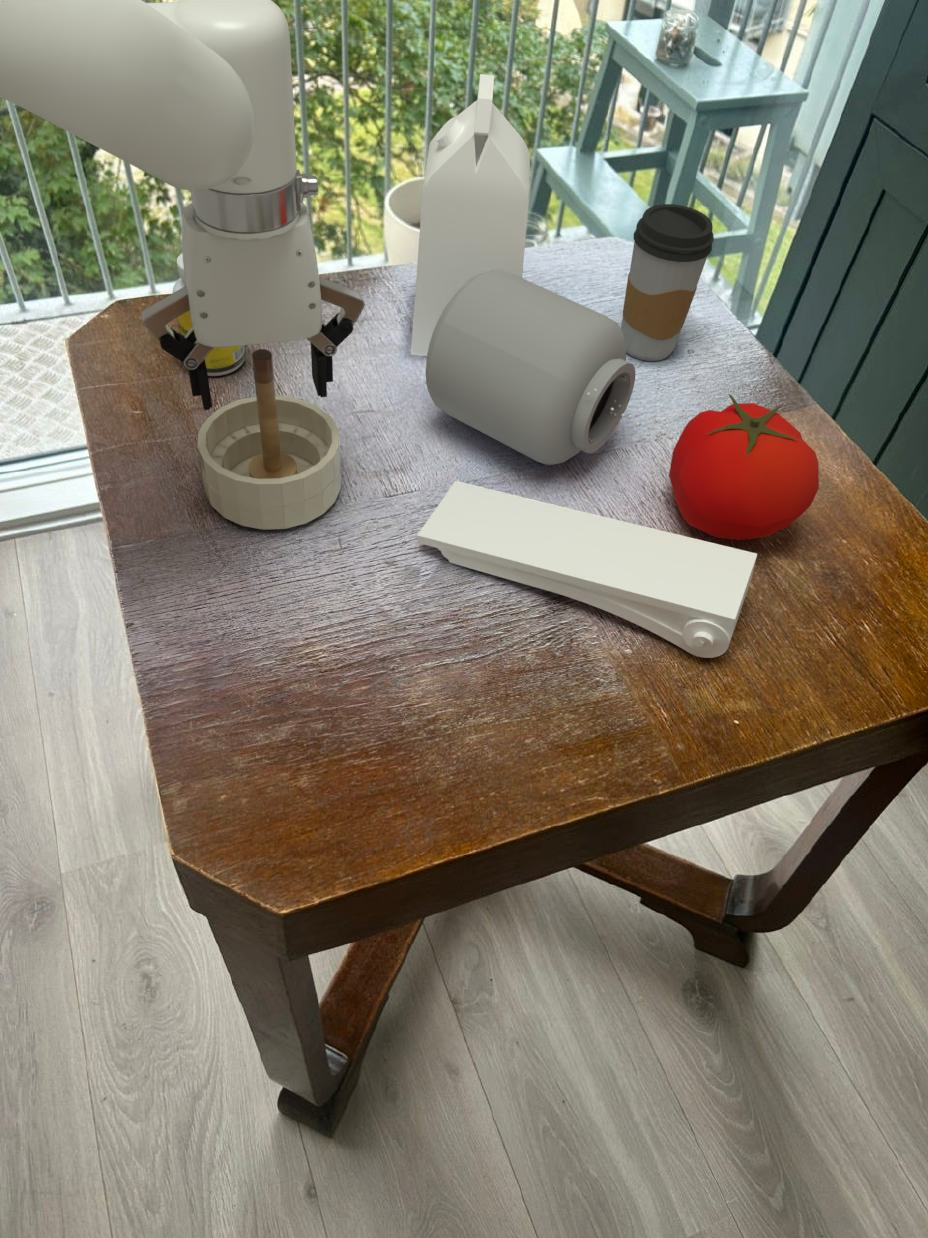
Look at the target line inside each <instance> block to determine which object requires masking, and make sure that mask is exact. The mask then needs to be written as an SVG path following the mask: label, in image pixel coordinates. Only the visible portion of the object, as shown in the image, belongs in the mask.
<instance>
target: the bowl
mask: <svg viewBox="0 0 928 1238" xmlns="http://www.w3.org/2000/svg"><path fill="white" fill-rule="evenodd" d="M275 397H276V409H277V420H278V431H279V443H280V452H282V453H285V454H287V455H289V456H291V457H292V458H293V459H294V460H295V462H296V464H297V473H298V474H295V475H291V476H287V477H283V478H270V479H257V478H252V477H249V469H248V467H249V464H250V462H251V460H252V459H253V458H254V457H256V456H257V455H259V454H262V445H261V435H260V426H259V416H258V407H257V397H256V395H255V396H251V397H245V398H240V399H237V400H235V401H232V402H230V403H227V404H226V405H223V406H221V407H219V408H218V409H217V410H215V411H214V412H213V413H211V415H209V416H208V417H207V418H206V419H205V420H204V422H203V424H202V425H201V427H200V429H199V431H198V433H197V445H196V448H197V451H198V457H199V464H200V470H201V475H202V481H203V487H204V492H205V496H206V497H207V499H208V502H209V504H210V506H211V507H212V508H213V509H214V510H216V512H218V513H219V514H220V515H221V516H222V517H223V518H224V519H226V520H229V521H230V522H232V523H235V524H237V525H239V526H241V527H245V528H246V527H247V528H252V529H258V530H262V531H263V530H286V529H291V528H295V527H297V526H302V525H306V524H308V523H310V522H312V521H313V520H315V519H317V518H319V517H321V516H322V515H324V514H325V513H326V512H327V511H328V510H329V509H330V508H331V507H332V506H333V505H334V504H335V503H336V501H337V498H338V497H339V494H340V493H341V489H342V474H341V473H342V471H341V470H342V469H341V442H340V441H341V440H340V430H339V427H338V426H337V423H336V422H335V420H334V418H333V417H332V416H331V415H330V414H329V413H327V412H326V411H324V409H322V408H321V407H319V406H318V405H316V404H313V403H311V402H309V401H306V400H304V399H302V398H297V397H293V396H286V395H281V394H280V395H279V394H275Z"/></svg>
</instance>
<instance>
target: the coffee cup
mask: <svg viewBox="0 0 928 1238" xmlns="http://www.w3.org/2000/svg"><path fill="white" fill-rule="evenodd" d="M713 226H714V225H713V222H712V220H711V218H709V217H708V216H707V215H706V214H704V213H703V212H701V211H700V210H697V209H695V208H692V207H690V206H685V205H682V204H675V203H662V204H655V205H653V206H650V207H648V208H646V210H644V213H643V214H642V217H641V218H639V220H638V221H637V223H636V227H635V230H634V233H633V241H634V242H633V248H632V254H631V261H630V267H629V272H628V274H627V281H626V287H625V295H624V301H623V307H622V320H621V326H620V329H621V331H622V333H623V335H624V337H625V343H626V354H628V355H629V356H631V357H633V358H635V359H637V360H640V361H646V362H657V361H662V360H665V359H667V358H668V357H669V356H670V355H671V354H672V353H673V352H674V350H675V348H676V345H677V342H678V340H679V338H680V335H681V331H682V329H683V327H684V325H685V322H686V319H687V316H688V314H689V311H690V308H691V305H692V303H693V301H694V297H695V295H696V293H697V292H696V291H697V289H698V288H697V287H698V284H699V281H700V279H701V276H702V274H703V273H702V272H703V270H704V268H705V264H706V263H707V262H706V261H707V259H708V256H709V255H711V252H712V251H713V242H714V233H713V228H714V227H713Z"/></svg>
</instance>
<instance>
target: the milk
mask: <svg viewBox="0 0 928 1238" xmlns="http://www.w3.org/2000/svg"><path fill="white" fill-rule="evenodd" d="M478 81H479V82H478V89H477V98H476V100H475V101H474V102H472V103H471V104H470V105H469V106H468V107H466V108H465V109H464V110H462V111H461V112H460V113H459V114H457V115H456V116H454V117H451V118H449V120H447V121H446V122H445V124H443V126H442V127H440V129H439V130H438V131H437V132H436V134H435V135H434V136H433V138H432V139H431V141H430V142H429V145H428V153H427V157H426V158H427V159H426V165H425V171H424V177H423V186H422V194H421V195H422V197H421V208H420V209H421V210H420V222H419V223H420V224H419V236H418V237H419V238H418V247H417V248H418V251H417V261H416V262H417V263H416V277H415V278H416V279H415V289H414V301H413V304H414V305H413V318H412V319H413V320H412V328H411V329H412V331H411V344H410V356H419V357H427V353H428V348H429V343H430V340H431V337H432V334H433V331H434V329H435V326H436V324H437V322H438V319H439V318H440V316H441V314H442V312H443V310H444V309H445V307H446V306H447V304H448V303H449V301H450V300H451V299H452V297H453V296H454V295H455V294H456V293H457V292H458V291H459V289H460V288H461V287H462V286H463V285H464V284H465V283H467V282H468V281H469V280H470V279H471V278H473V277H475V276H476V275H478V274H480V273H484V272H487V271H491V270H502V271H505V272H509V273H511V274H514V275H516V276H518V277H520V278H522V279H523V273H524V262H525V250H526V240H527V229H528V228H527V227H528V216H529V207H530V192H531V191H530V190H531V187H530V186H531V151H530V150H529V148H528V145H527V144H526V142H525V140H524V139H523V137H522V136H521V135H520V133H519V132H518V131H517V130H516V129H515V127H514V126H513V125H512V124H511V122H509V120H508V119H507V118H506V116H504V115H503V113H502V112H501V111H500V109H498V108H497V106H496V105H495V104H494V103H493V98H494V85H495V75H492V74H485V73H484V74H483V73H480V74H479V80H478Z"/></svg>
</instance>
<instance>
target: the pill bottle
mask: <svg viewBox="0 0 928 1238" xmlns="http://www.w3.org/2000/svg"><path fill="white" fill-rule="evenodd" d="M176 267H177V273H178V276H179V278H178V279H177V280H176V281H175V283H174V285H173V287H172V293H174V292H176V291H178V290H179V289H181V288H183V287H185V277H184V266H183V253H182V252H181V253H180V254H179V255H178V257H177V258H176ZM176 323H177V328H178V333H179V334H181V335H182V336H184V337H185V335H186V334H187V333H188V332H189V330H190V329H191V328H192V326H193V325H192V321H191V317H190V314H189V311H187V312H185V313H184V314H182V315H180V316H179V317H177V318H176ZM245 358H246V349H245V345H243V346H232V347H213V349H212V350H211V351H210V353H209V354H208V355H207V356H206V358H205V363H206V368H207V374H208V377H219V376H225V375H228V374H231V373H233V372H234V371H237V370H238V369H239V368H240V367H242V365H243V364H244V361H245Z"/></svg>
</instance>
